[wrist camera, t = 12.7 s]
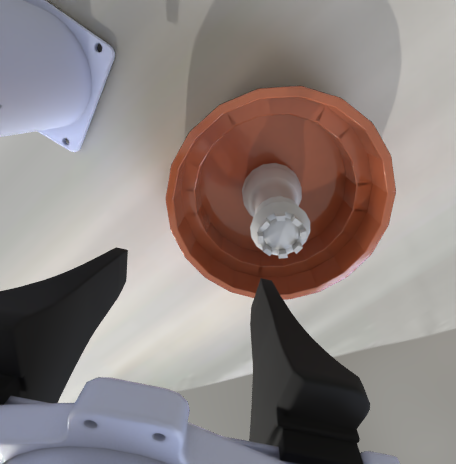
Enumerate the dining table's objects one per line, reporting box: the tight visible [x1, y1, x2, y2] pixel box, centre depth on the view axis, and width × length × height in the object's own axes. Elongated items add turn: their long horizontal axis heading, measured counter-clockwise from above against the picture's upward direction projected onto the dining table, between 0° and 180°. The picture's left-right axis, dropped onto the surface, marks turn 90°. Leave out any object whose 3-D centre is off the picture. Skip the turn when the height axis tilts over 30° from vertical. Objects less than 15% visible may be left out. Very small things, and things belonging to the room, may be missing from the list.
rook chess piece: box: [242, 163, 310, 259], centre depth 18 cm, size 4×4×8 cm
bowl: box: [166, 86, 396, 299], centre depth 20 cm, size 14×14×5 cm
